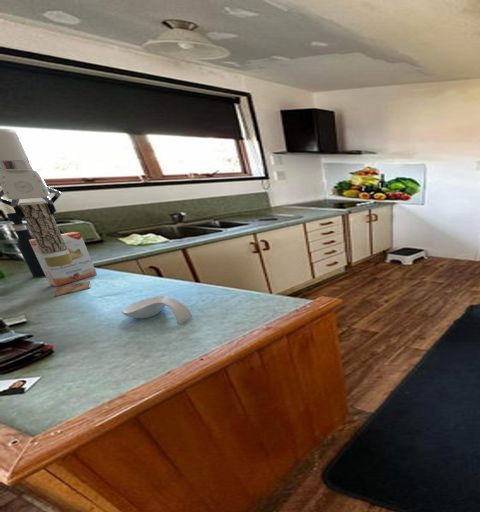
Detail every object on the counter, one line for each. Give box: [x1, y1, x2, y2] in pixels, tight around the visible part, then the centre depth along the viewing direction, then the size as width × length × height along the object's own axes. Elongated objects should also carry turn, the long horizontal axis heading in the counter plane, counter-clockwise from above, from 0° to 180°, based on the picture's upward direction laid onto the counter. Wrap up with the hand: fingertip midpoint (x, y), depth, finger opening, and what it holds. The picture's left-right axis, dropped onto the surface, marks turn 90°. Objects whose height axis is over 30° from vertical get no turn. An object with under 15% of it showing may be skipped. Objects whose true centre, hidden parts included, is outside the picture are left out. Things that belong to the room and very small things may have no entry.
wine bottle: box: [6, 212, 46, 278], centre depth 126 cm, size 6×6×30 cm
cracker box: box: [29, 231, 98, 287], centre depth 120 cm, size 14×6×21 cm, turn 161°
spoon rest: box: [121, 295, 193, 325], centre depth 90 cm, size 24×12×7 cm, turn 73°
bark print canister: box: [18, 200, 72, 267], centre depth 105 cm, size 7×7×25 cm
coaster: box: [53, 280, 91, 298], centre depth 114 cm, size 10×10×1 cm
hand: (38, 215), depth 103 cm, fingers closed on bark print canister, 6 cm apart
